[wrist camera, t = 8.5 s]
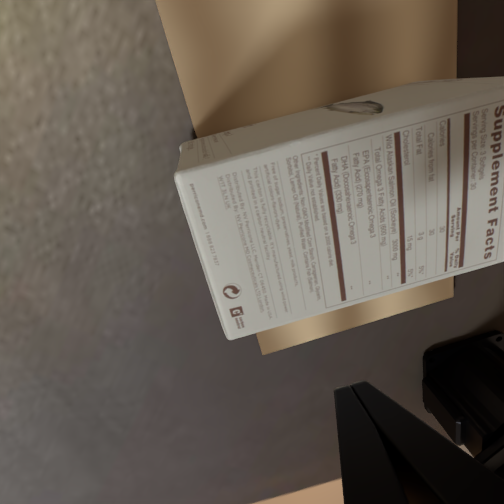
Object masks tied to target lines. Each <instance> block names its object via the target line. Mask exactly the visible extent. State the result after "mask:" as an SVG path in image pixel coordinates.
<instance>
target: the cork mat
mask: <svg viewBox="0 0 504 504" xmlns="http://www.w3.org/2000/svg"><path fill="white" fill-rule="evenodd" d="M155 1H156V4H157V7H158V11H159V14H160V17H161V21H162V24H163V27H164V31H165V34H166V37H167V40H168V44H169V47H170V50H171V54H172V57H173V60H174V64H175V67H176V70H177V74H178V77H179V80H180V83H181V87H182V90H183V93H184V97H185V100H186V103H187V107H188V110H189V113H190V116H191V120H192V123H193V126H194V130H195V133H196V136H197V139H198V138H202V137H206V136H210V135H213V134H217V133H221V132H225V131H228V130H232V129H236V128H240V127H244V126H248V125H252V124H255V123H259V122H263V121H267V120H271V119H274V118H278V117H282V116H286V115H290V114H294V113H298V112H302V111H306V110H309V109H313V108H317V107H321V106H325V105H329V104H333V103H337V102H341V101H344V100H348V99H352V98H356V97H359V96H363V95H367V94H371V93H375V92H379V91H382V90H386V89H390V88H394V87H398V86H401V85H405V84H408V83H412V82H416V81H427V80H442V79H456V76H457V5H458V0H155ZM453 288H454V276H452V277H448V278H445V279H441V280H438V281H434V282H431V283H427V284H424V285H420V286H417V287H414V288H410V289H406V290H403V291H400V292H396V293H393V294H389V295H386V296H382V297H379V298H375V299H371V300H368V301H365V302H361V303H358V304H354V305H351V306H348V307H344V308H340V309H337V310H333V311H330V312H327V313H323V314H319V315H316V316H313V317H309V318H306V319H302V320H299V321H295V322H292V323H289V324H285V325H282V326H278V327H275V328H271V329H268V330H264V331H261V332H258V333H256V335H257V338H258V341H259V345H260V348H261V351H262V355H265V354H269V353H272V352H275V351H278V350H282V349H285V348H288V347H291V346H295V345H298V344H301V343H304V342H308V341H311V340H314V339H317V338H321V337H324V336H327V335H330V334H334V333H337V332H340V331H343V330H347V329H350V328H353V327H356V326H360V325H363V324H366V323H369V322H373V321H376V320H379V319H382V318H386V317H389V316H392V315H395V314H399V313H402V312H405V311H408V310H412V309H415V308H418V307H422V306H425V305H428V304H431V303H435V302H438V301H441V300H444V299H448V298H451V297H453Z"/></svg>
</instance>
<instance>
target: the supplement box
mask: <svg viewBox="0 0 504 504" xmlns="http://www.w3.org/2000/svg"><path fill="white" fill-rule="evenodd" d="M179 148H180V152H181V155H180V159H179V164H178V168H177V170H176V172H175V174H174V180H175V183H176V186H177V189H178V192H179V196H180V199H181V202H182V206H183V209H184V212H185V215H186V218H187V221H188V224H189V227H190V230H191V233H192V237H193V240H194V243H195V246H196V249H197V252H198V255H199V258H200V261H201V264H202V267H203V270H204V273H205V276H206V279H207V283H208V286H209V289H210V292H211V295H212V298H213V301H214V304H215V307H216V310H217V313H218V316H219V319H220V322H221V324H222V327H223V330H224V332H225V335H226V337H227V338H228V340H234V339H237V338H240V337H244V336H247V335H250V334H254V333H258V332H261V331H264V330H268V329H271V328H275V327H278V326H282V325H285V324H289V323H292V322H295V321H299V320H302V319H306V318H309V317H313V316H316V315H319V314H323V313H327V312H330V311H333V310H337V309H340V308H344V307H348V306H351V305H354V304H358V303H361V302H365V301H368V300H371V299H375V298H379V297H382V296H386V295H389V294H393V293H396V292H400V291H403V290H406V289H410V288H414V287H417V286H420V285H424V284H427V283H431V282H434V281H438V280H441V279H445V278H448V277H452V276H455V275H458V274H462V273H465V272H469V271H472V270H476V269H479V268H483V267H486V266H490V265H493V264H497V263H500V262H504V76H503V77H482V78H461V79H442V80H427V81H416V82H412V83H408V84H405V85H401V86H398V87H394V88H390V89H386V90H382V91H379V92H375V93H371V94H367V95H363V96H359V97H356V98H352V99H348V100H344V101H341V102H337V103H333V104H329V105H325V106H321V107H317V108H313V109H309V110H306V111H302V112H298V113H294V114H290V115H286V116H282V117H278V118H274V119H271V120H267V121H263V122H259V123H255V124H252V125H248V126H244V127H240V128H236V129H232V130H228V131H225V132H221V133H217V134H213V135H210V136H206V137H202V138H198V139H195V140H191V141H187V142H184V143H182V144H181V145H180V147H179Z"/></svg>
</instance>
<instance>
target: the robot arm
mask: <svg viewBox="0 0 504 504" xmlns="http://www.w3.org/2000/svg"><path fill="white" fill-rule="evenodd" d="M422 388H423V402H424V407H425V409H426V410H427V412H428V413H432V414H433V415H434V417H435V418H436V419H437V420H438V422H439V423H440V424H441V426H442V427H443V428H444V430H445V431H446V432H447V434H448V435H449V436H450V438H451V439H452V440H453V442H454V443H455V444H457V445H459V446H461V445H465V447H466V448H467V449H468V450H469V452H470V453H471V454H472V456H473V457H474V458H473V457H472V456H470V455H469V454H467V453H466V452H464V451H463V450H462V449H461V448H459V447H458V446H456V445H455V444H454V443H452V442H451V441H449V440H448V439H447V438H445V437H444V436H443V435H441V434H440V433H438V432H437V431H436V430H434V429H433V428H431V427H430V426H429V425H427V424H426V423H425V422H423V421H422V420H420V419H419V418H418V417H416V416H415V415H413V414H412V413H411V412H409V411H408V410H407V409H405V408H404V407H402V406H401V405H400V404H398V403H397V402H395V401H394V400H393V399H391V398H390V397H389V396H387V395H386V394H384V393H383V392H382V391H380V390H379V389H377V388H376V387H375V386H373V385H372V384H371V383H369V382H368V381H365V380H362V381H358V382H355V383H352V384H351V385H350V386H349V385H345V386H341V387H338V388H335V389H334V398H335V409H336V420H337V431H338V442H339V453H340V464H341V475H342V486H343V496H344V504H504V334H503V333H501V332H500V331H493V332H490V333H487V334H484V335H480V336H477V337H474V338H471V339H468V340H465V341H461V342H458V343H455V344H452V345H449V346H445V347H442V348H439V349H436V350H433V351H429V352H427V353H426V354H424V356H423V380H422Z"/></svg>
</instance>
